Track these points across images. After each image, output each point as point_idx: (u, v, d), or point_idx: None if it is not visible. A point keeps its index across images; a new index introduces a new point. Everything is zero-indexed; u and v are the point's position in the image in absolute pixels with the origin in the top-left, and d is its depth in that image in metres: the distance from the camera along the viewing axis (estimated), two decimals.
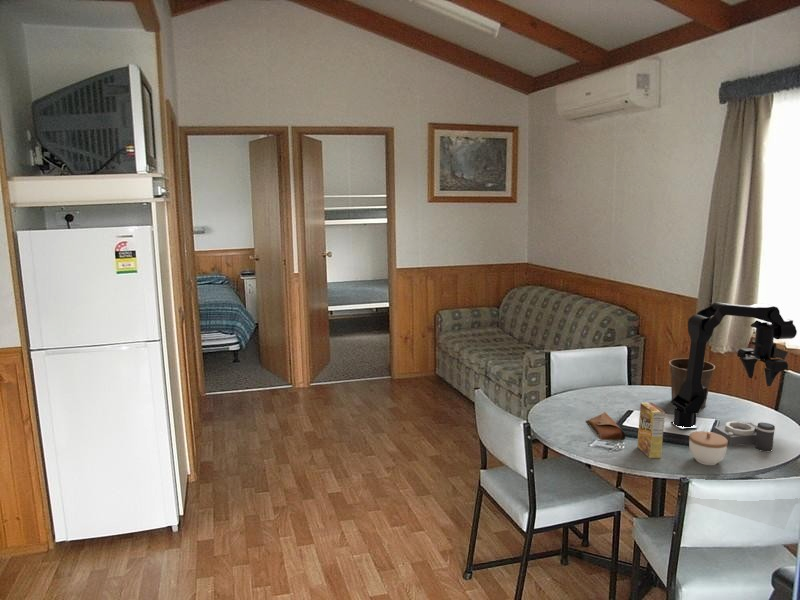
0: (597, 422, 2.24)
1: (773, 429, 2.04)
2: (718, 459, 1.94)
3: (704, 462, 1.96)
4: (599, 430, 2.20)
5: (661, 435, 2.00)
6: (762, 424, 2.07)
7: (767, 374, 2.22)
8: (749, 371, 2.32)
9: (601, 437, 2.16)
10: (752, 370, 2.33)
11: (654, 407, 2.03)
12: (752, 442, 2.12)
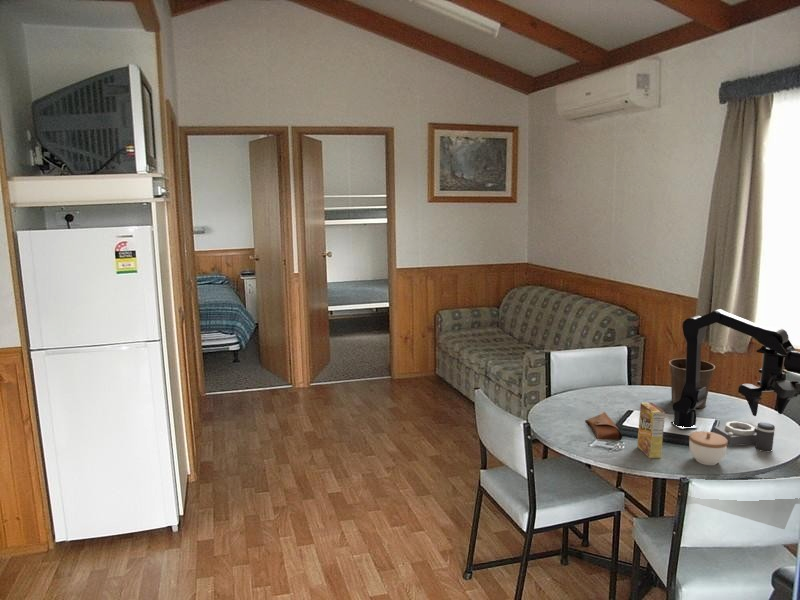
0: (595, 422, 2.24)
1: (773, 429, 2.04)
2: (718, 459, 1.94)
3: (704, 462, 1.96)
4: (597, 429, 2.20)
5: (661, 435, 2.00)
6: (762, 424, 2.07)
7: None
8: (778, 405, 2.07)
9: (598, 437, 2.17)
10: (781, 405, 2.06)
11: (654, 407, 2.03)
12: (752, 442, 2.12)
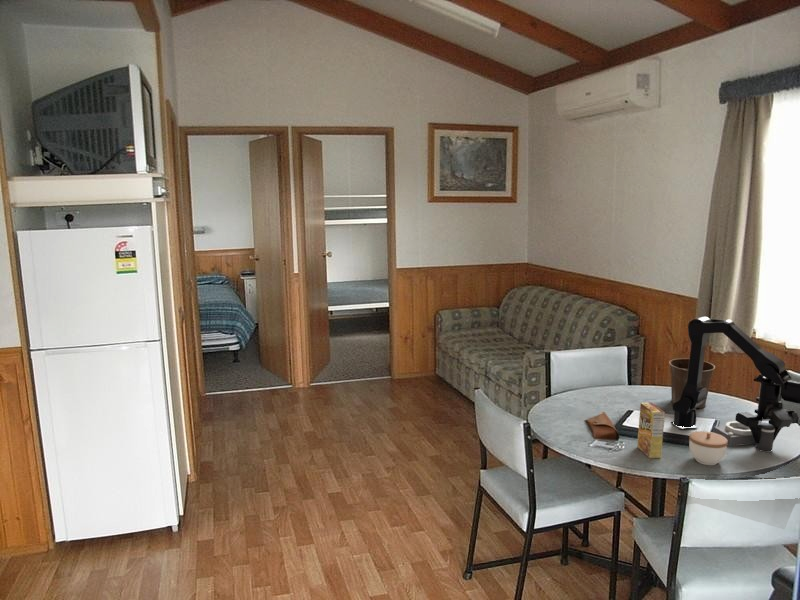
0: (593, 422, 2.25)
1: (773, 429, 2.04)
2: (718, 459, 1.94)
3: (704, 462, 1.96)
4: (594, 429, 2.20)
5: (661, 435, 2.00)
6: (762, 424, 2.07)
7: None
8: None
9: (595, 436, 2.17)
10: None
11: (654, 407, 2.03)
12: (752, 442, 2.12)
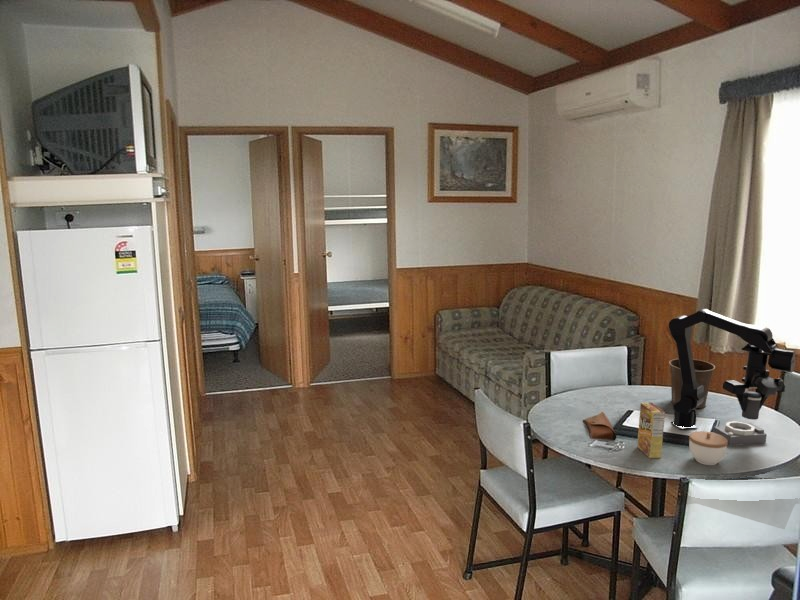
0: (591, 421, 2.25)
1: (759, 397, 2.08)
2: (718, 459, 1.94)
3: (704, 462, 1.96)
4: (592, 429, 2.20)
5: (661, 435, 2.00)
6: (749, 392, 2.10)
7: None
8: None
9: (592, 436, 2.17)
10: None
11: (654, 407, 2.03)
12: (752, 442, 2.12)
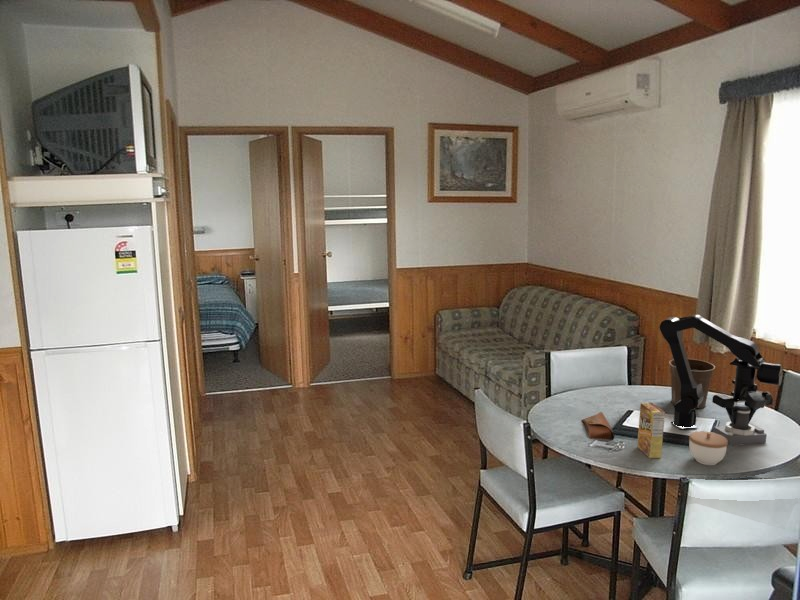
0: (590, 421, 2.25)
1: (748, 410, 2.12)
2: (718, 459, 1.94)
3: (704, 462, 1.96)
4: (590, 429, 2.21)
5: (661, 435, 2.00)
6: (738, 406, 2.14)
7: None
8: None
9: (589, 436, 2.17)
10: None
11: (654, 407, 2.03)
12: (752, 442, 2.12)
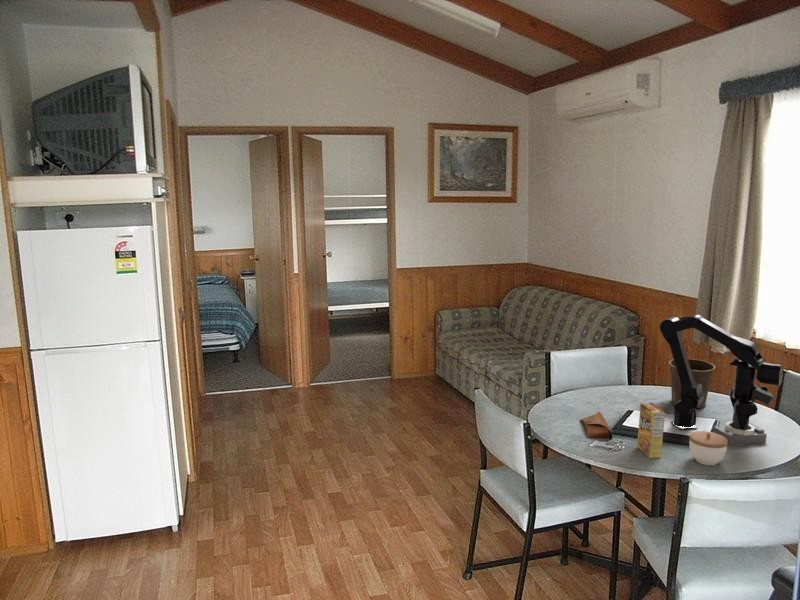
0: (588, 421, 2.25)
1: None
2: (718, 459, 1.94)
3: (704, 462, 1.96)
4: (588, 429, 2.21)
5: (661, 435, 2.00)
6: None
7: (736, 415, 2.09)
8: None
9: (588, 436, 2.17)
10: None
11: (654, 407, 2.03)
12: (752, 442, 2.12)
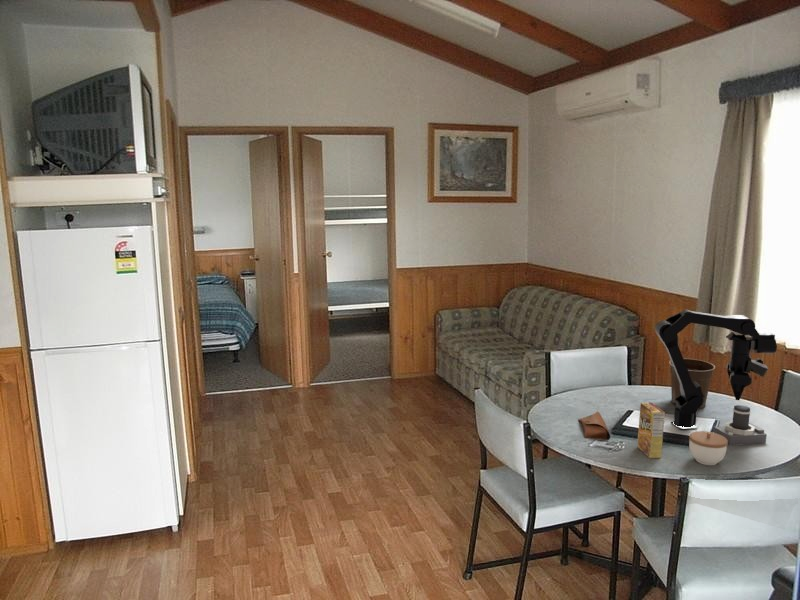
0: (586, 421, 2.25)
1: None
2: (718, 459, 1.94)
3: (704, 462, 1.96)
4: (586, 428, 2.21)
5: (661, 435, 2.00)
6: (740, 408, 2.13)
7: None
8: None
9: (585, 436, 2.18)
10: None
11: (654, 407, 2.03)
12: (752, 442, 2.12)
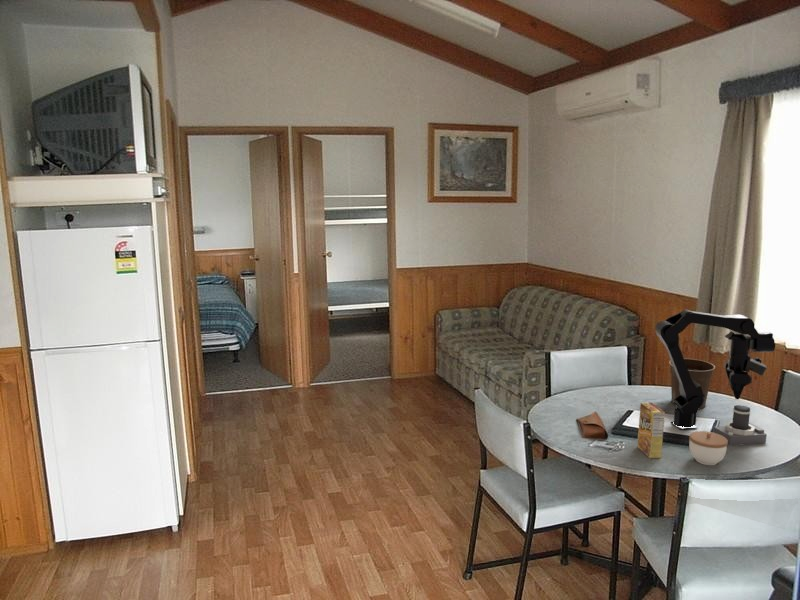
0: (584, 421, 2.25)
1: None
2: (718, 459, 1.94)
3: (704, 462, 1.96)
4: (584, 428, 2.21)
5: (661, 435, 2.00)
6: (740, 408, 2.13)
7: (731, 386, 2.18)
8: None
9: (583, 435, 2.18)
10: None
11: (654, 407, 2.03)
12: (752, 442, 2.12)
